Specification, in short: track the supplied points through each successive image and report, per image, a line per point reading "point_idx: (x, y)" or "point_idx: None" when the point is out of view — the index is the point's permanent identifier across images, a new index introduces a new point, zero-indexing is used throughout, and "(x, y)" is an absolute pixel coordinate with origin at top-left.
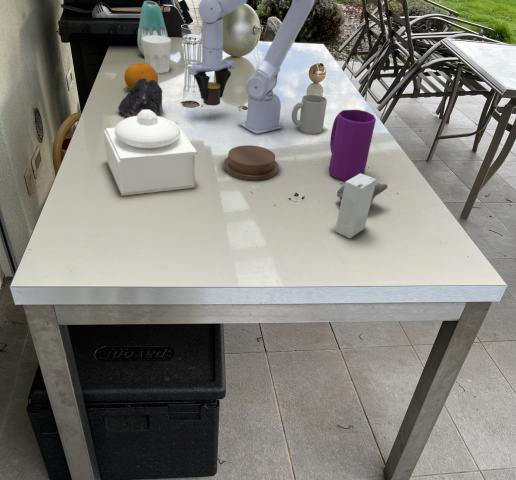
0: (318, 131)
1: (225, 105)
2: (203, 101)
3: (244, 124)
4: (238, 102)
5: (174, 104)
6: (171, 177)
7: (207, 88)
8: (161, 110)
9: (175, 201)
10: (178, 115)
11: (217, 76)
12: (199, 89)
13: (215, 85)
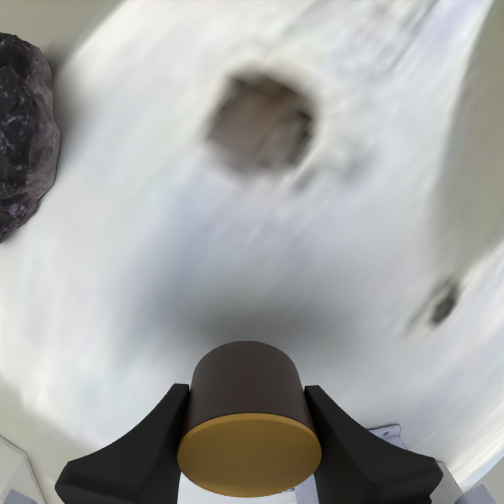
0: None
1: (412, 234)
2: (194, 372)
3: None
4: (471, 234)
5: (180, 83)
6: None
7: (177, 481)
8: (40, 189)
9: None
10: (109, 235)
11: (341, 481)
12: (150, 414)
13: (265, 479)
